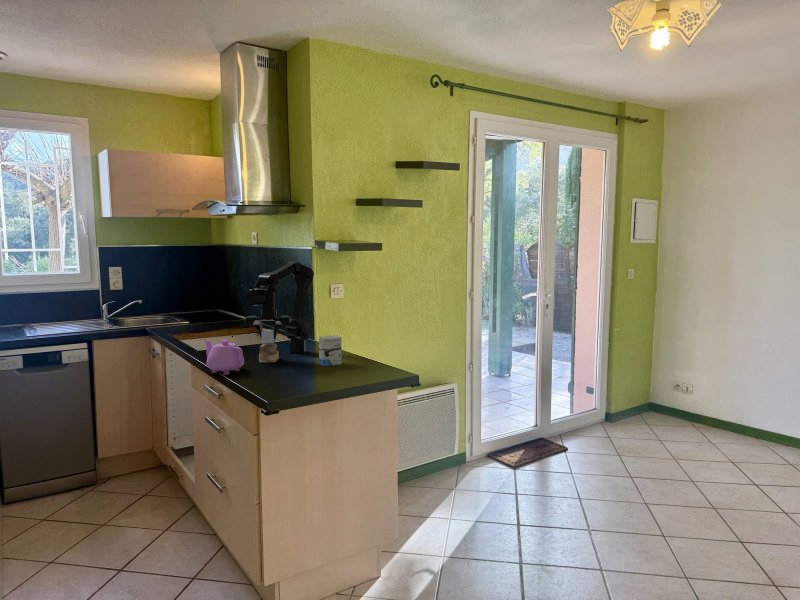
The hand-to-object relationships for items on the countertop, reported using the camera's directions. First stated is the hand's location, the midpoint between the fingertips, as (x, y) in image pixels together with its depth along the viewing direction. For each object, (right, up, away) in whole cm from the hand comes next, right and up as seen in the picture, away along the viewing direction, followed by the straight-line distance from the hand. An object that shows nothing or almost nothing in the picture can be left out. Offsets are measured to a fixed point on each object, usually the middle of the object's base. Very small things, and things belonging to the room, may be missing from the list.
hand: (268, 339), depth 239 cm
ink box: (+27, -10, -6) cm, 30 cm away
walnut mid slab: (0, -6, 0) cm, 6 cm away
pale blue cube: (0, -1, 0) cm, 1 cm away
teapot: (-13, -11, -18) cm, 25 cm away
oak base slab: (0, -9, +1) cm, 9 cm away
